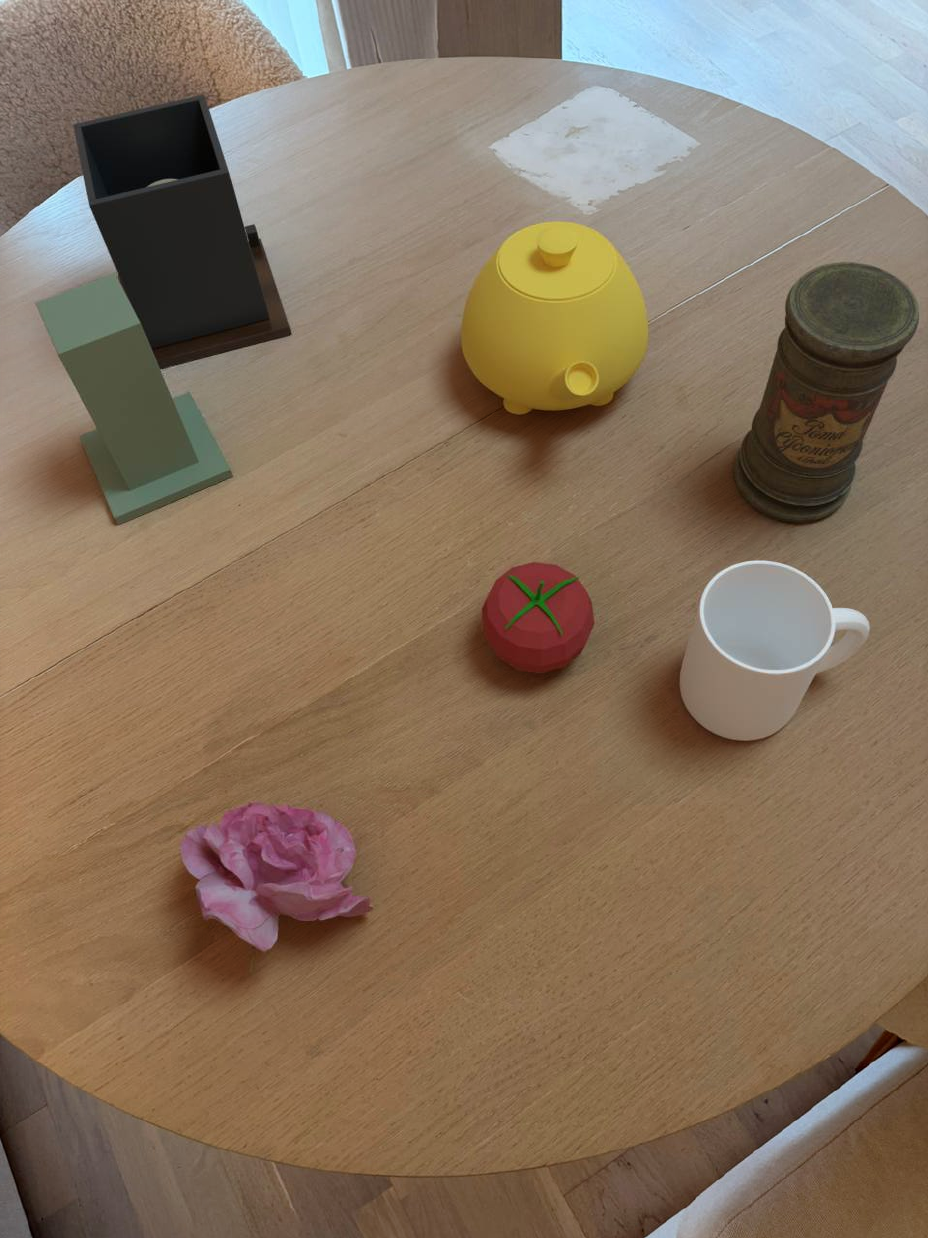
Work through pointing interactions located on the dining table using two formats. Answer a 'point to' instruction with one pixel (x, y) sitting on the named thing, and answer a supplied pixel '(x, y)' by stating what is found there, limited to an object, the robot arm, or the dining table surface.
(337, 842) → the flower
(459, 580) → the dining table surface
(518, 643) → the tomato
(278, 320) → the bin stand
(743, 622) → the mug
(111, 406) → the pedestal
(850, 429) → the container
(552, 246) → the teapot
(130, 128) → the bin
